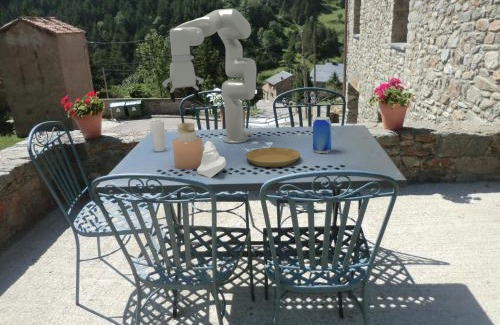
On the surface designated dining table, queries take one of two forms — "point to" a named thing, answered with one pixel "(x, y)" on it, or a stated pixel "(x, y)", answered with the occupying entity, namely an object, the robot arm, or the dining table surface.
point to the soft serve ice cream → (211, 161)
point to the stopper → (186, 127)
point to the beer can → (322, 135)
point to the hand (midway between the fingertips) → (184, 100)
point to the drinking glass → (158, 134)
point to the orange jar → (187, 150)
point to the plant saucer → (272, 156)
